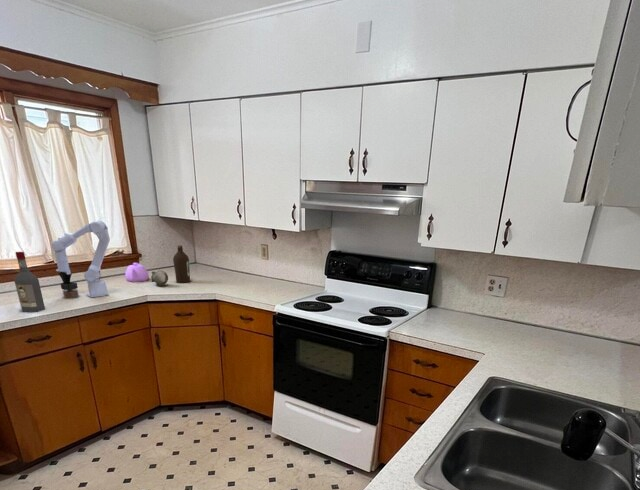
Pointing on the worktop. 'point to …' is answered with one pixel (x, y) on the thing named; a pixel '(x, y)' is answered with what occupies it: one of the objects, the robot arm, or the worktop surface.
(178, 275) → the olive oil
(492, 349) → the worktop surface
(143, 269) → the teapot
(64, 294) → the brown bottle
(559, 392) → the worktop surface
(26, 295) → the liquor
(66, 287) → the rubber collar
